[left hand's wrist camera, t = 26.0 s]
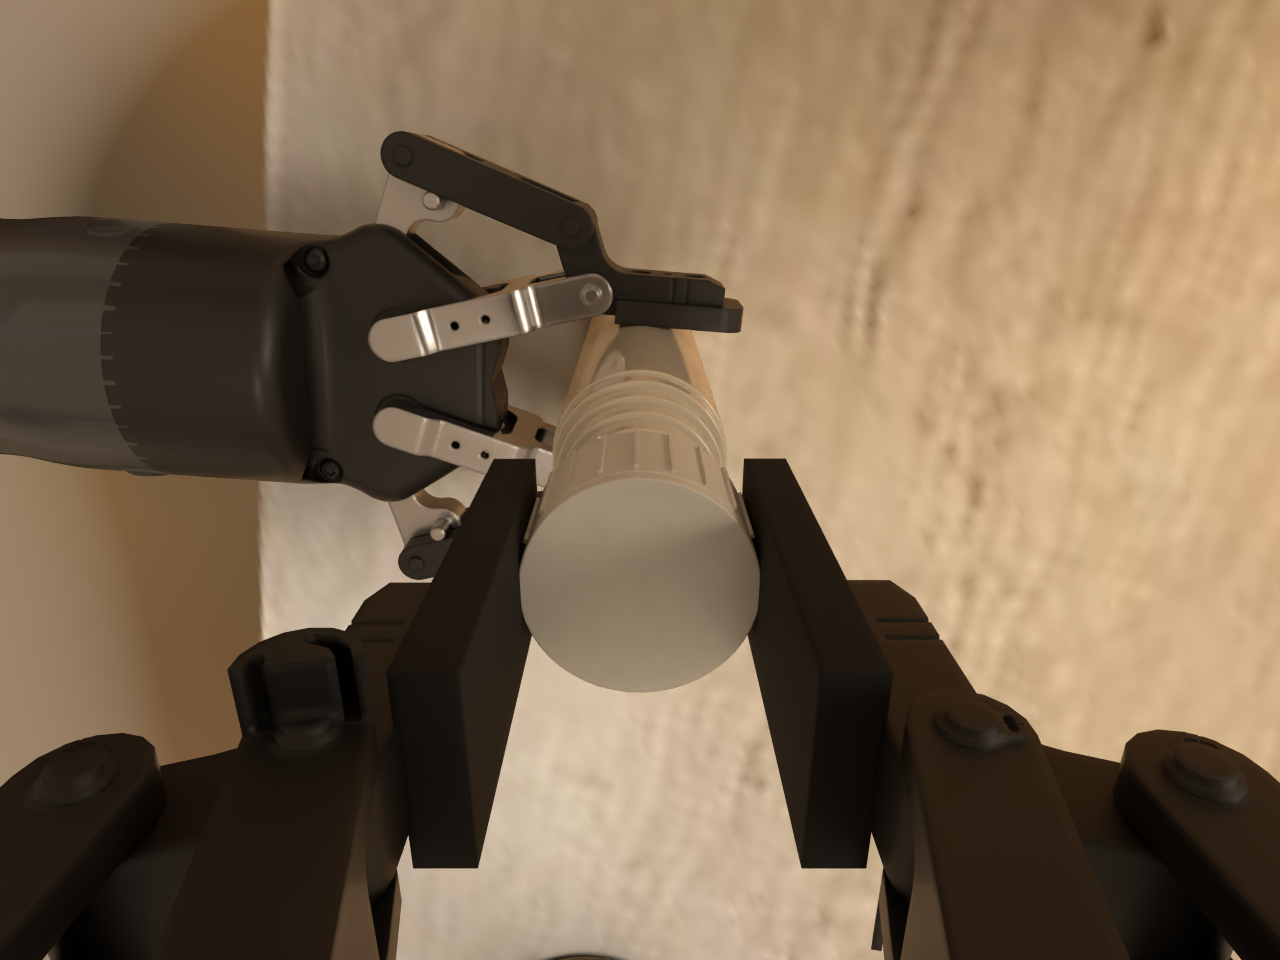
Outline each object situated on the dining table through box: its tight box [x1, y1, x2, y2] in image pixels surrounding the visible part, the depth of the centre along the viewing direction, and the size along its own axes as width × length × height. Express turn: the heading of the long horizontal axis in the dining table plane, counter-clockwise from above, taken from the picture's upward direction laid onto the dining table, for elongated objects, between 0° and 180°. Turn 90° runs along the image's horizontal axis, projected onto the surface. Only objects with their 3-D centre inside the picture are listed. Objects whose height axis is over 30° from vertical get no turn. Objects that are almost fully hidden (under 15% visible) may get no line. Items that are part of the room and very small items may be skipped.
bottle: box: [552, 315, 727, 472], centre depth 22 cm, size 4×4×19 cm
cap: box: [519, 430, 760, 692], centre depth 13 cm, size 4×4×2 cm
